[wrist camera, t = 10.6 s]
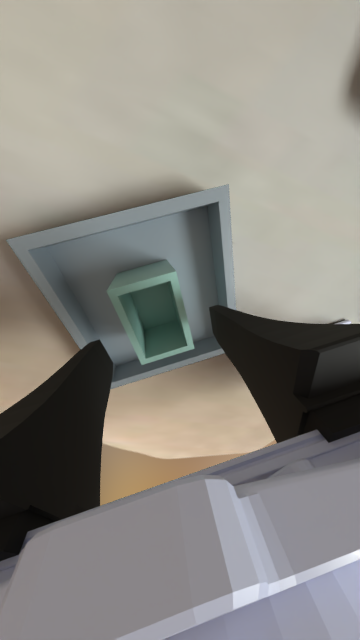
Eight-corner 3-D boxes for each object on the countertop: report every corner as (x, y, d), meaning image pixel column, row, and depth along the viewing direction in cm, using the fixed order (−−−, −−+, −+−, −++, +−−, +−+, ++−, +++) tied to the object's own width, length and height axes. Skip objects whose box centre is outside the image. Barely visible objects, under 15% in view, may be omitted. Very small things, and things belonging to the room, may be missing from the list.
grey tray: (212, 193, 14) (228, 184, 11) (226, 334, 21) (238, 348, 18) (33, 237, 13) (5, 239, 10) (112, 369, 20) (108, 390, 18)
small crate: (166, 259, 15) (176, 271, 11) (182, 320, 18) (194, 348, 14) (117, 273, 15) (106, 290, 10) (142, 332, 18) (141, 365, 14)
